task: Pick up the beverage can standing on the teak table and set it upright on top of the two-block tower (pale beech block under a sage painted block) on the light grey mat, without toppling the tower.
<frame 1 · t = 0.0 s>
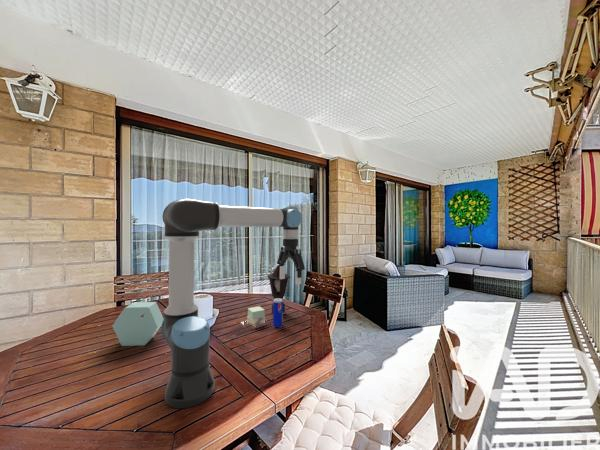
hand: (289, 281, 125), 28 cm above the table, fingers open, 13 cm apart
mat: (255, 324, 142), on the table
block top: (256, 316, 142), point 4 cm above the table, touching block bottom
lantern: (278, 313, 159), on the table
beverage can: (277, 327, 139), on the table
mint green hexagonal block: (139, 342, 120), on the table
block bottom: (256, 323, 142), resting on mat, touching block top
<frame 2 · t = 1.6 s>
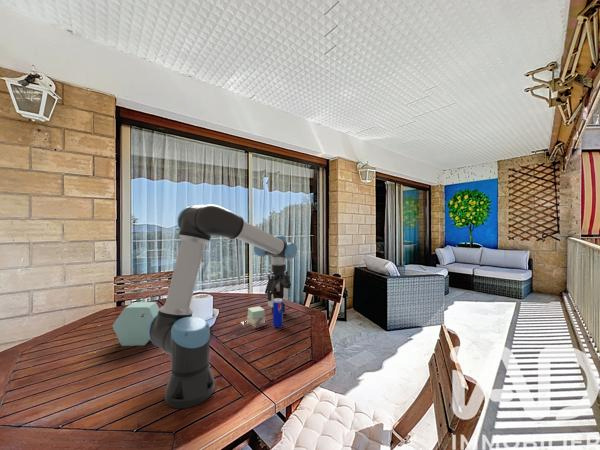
hand: (278, 303, 139), 13 cm above the table, fingers open, 13 cm apart
nothing on the table moved.
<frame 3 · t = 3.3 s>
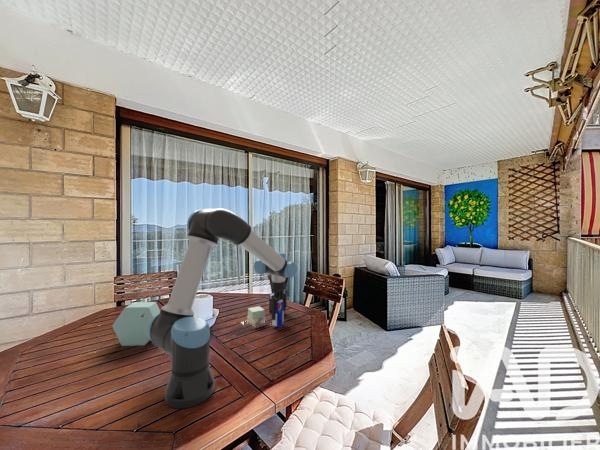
hand: (277, 323, 139), 2 cm above the table, fingers closed on beverage can, 5 cm apart
beverage can: (277, 327, 139), on the table, touching gripper
everything else where it was.
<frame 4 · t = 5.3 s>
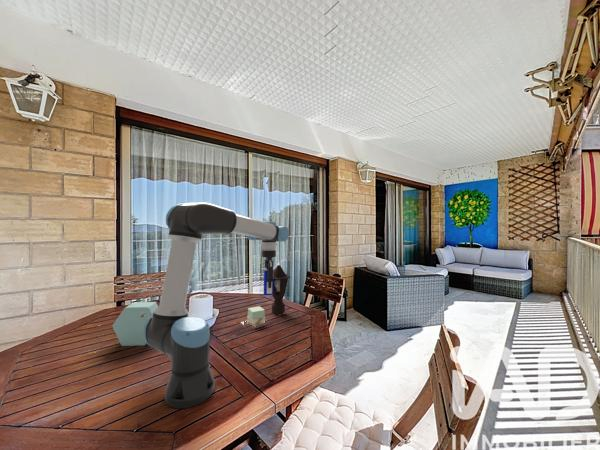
hand: (268, 292, 140), 19 cm above the table, fingers closed on beverage can, 5 cm apart
beverage can: (268, 295, 140), point 17 cm above the table, touching gripper
everything else where it was.
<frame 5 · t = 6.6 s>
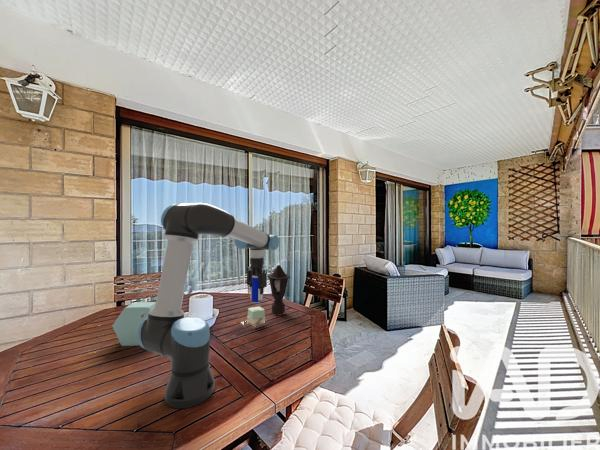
hand: (256, 298, 142), 14 cm above the table, fingers closed on beverage can, 5 cm apart
beverage can: (256, 302, 142), point 12 cm above the table, touching gripper
everything else where it was.
when the fingers open (11 cm above the table, at t = 7.4 s): beverage can stays where it is, resting on block top.
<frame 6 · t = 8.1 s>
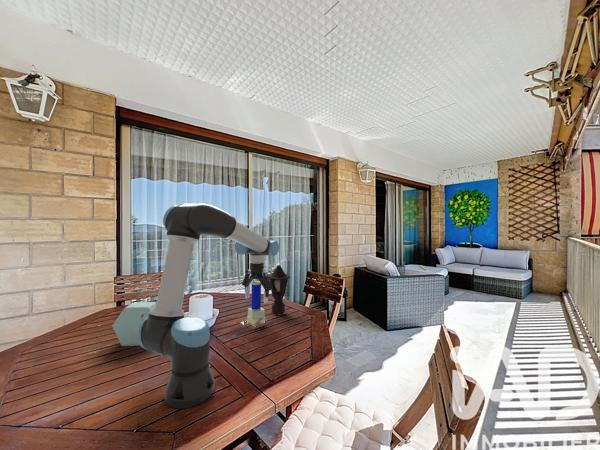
hand: (256, 300, 142), 13 cm above the table, fingers open, 13 cm apart
block top: (256, 316, 142), point 4 cm above the table, touching beverage can, block bottom
beverage can: (256, 309, 142), point 8 cm above the table, touching block top
everything else where it was.
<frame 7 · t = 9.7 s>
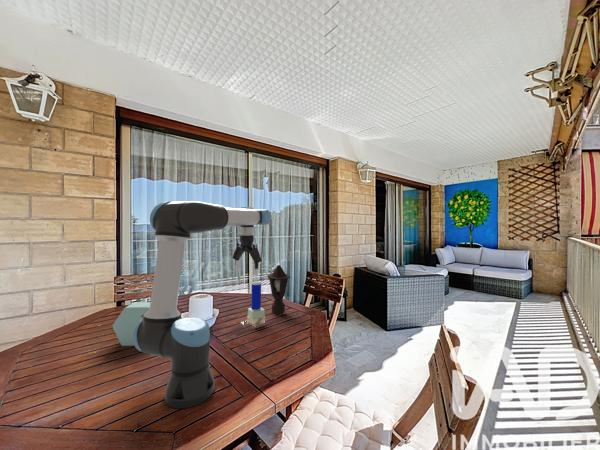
hand: (246, 273, 141), 28 cm above the table, fingers open, 13 cm apart
nothing on the table moved.
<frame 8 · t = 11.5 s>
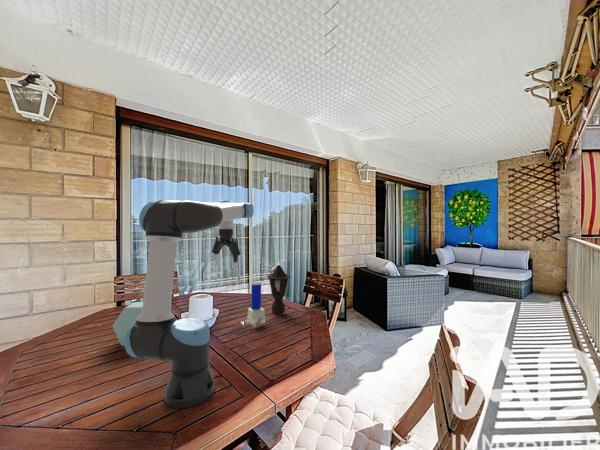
hand: (225, 266, 141), 32 cm above the table, fingers open, 13 cm apart
nothing on the table moved.
at the end: beverage can 0.1 cm off-centre on the block top, point 3.8 cm above the block top's base; beverage can tilted 0°; block top tilted 0° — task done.
